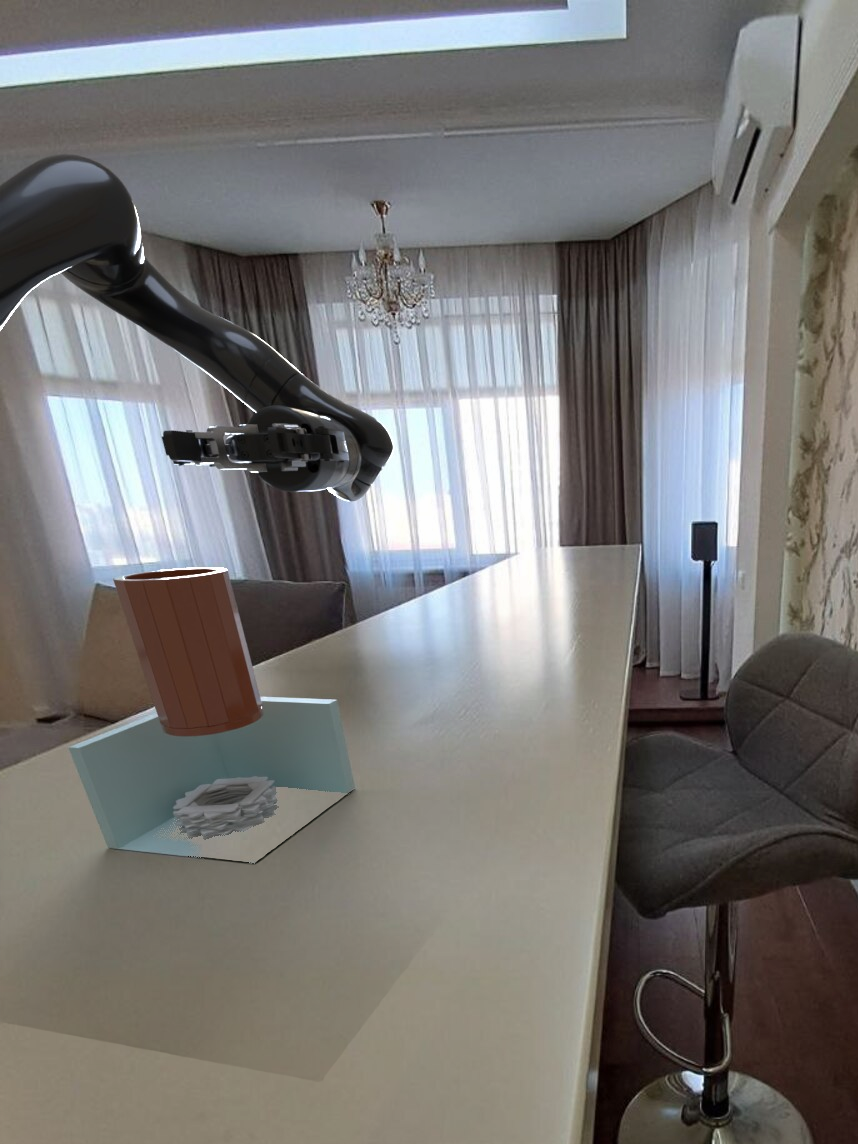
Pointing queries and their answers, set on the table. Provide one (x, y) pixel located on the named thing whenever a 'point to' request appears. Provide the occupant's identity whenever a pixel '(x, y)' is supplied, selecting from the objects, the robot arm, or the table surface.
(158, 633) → the cup
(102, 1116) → the table surface
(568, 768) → the table surface
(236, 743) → the right angle wall
